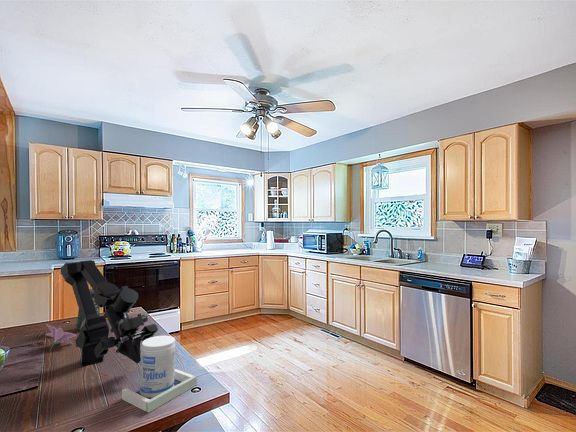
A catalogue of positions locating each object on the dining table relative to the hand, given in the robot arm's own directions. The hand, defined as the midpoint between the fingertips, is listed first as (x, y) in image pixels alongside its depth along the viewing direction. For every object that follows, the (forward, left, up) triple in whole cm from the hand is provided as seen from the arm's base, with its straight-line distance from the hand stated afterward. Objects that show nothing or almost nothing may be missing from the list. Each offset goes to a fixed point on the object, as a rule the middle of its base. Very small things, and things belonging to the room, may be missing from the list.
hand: (138, 362), depth 97 cm
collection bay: (+3, -10, -6) cm, 12 cm away
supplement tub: (+3, -9, -6) cm, 11 cm away
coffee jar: (-4, +69, -6) cm, 69 cm away
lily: (-16, +50, -6) cm, 53 cm away
